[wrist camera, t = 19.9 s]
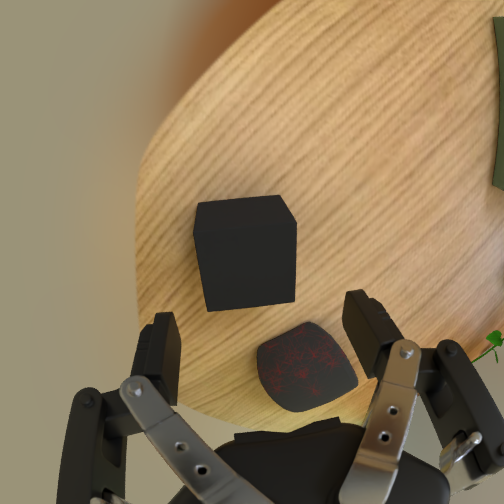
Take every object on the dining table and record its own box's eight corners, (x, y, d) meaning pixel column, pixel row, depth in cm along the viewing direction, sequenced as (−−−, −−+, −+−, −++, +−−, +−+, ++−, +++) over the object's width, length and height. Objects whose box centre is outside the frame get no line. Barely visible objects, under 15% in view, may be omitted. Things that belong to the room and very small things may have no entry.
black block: (208, 272, 21) (207, 312, 17) (197, 202, 19) (192, 232, 15) (281, 264, 22) (295, 302, 18) (280, 194, 19) (297, 221, 15)
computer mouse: (323, 311, 25) (338, 344, 21) (361, 377, 31) (372, 402, 28) (244, 351, 26) (248, 385, 22) (302, 404, 32) (309, 431, 29)
